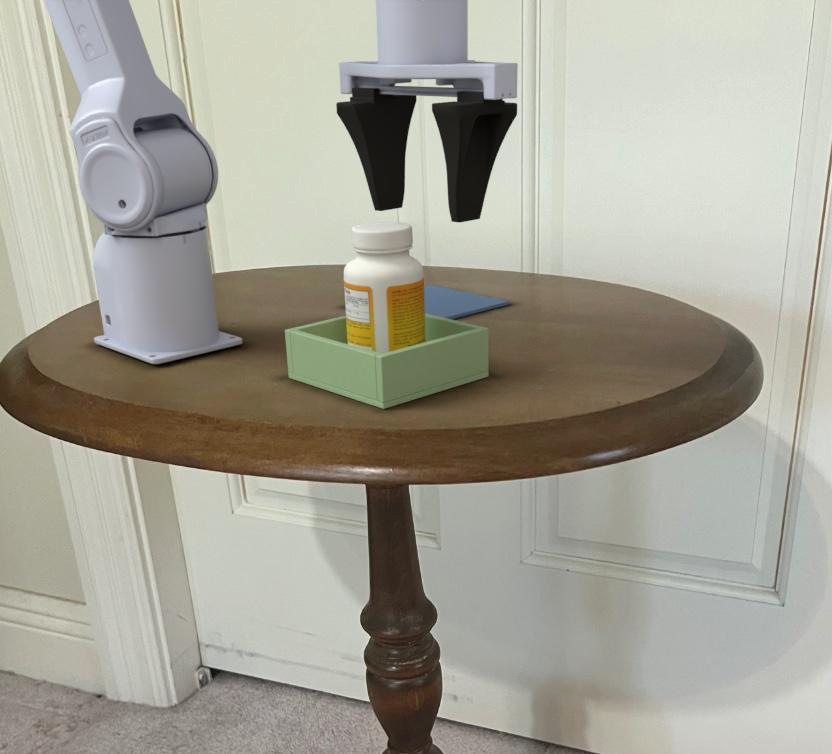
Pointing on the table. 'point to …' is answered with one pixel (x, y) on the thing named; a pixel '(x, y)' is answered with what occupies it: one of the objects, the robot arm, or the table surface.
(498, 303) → the mat
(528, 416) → the table surface
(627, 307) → the table surface
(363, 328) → the supplement bottle
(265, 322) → the table surface
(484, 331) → the bin
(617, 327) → the table surface
